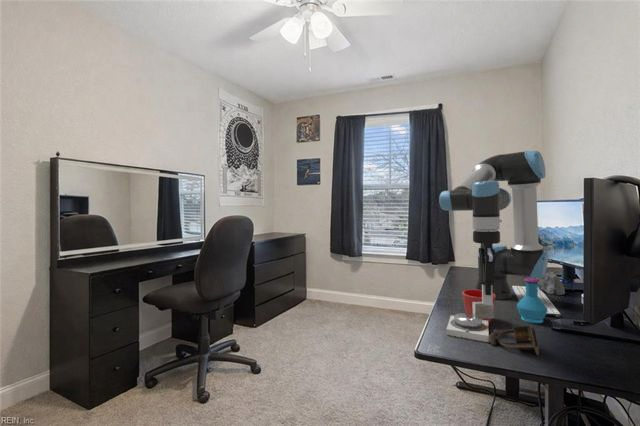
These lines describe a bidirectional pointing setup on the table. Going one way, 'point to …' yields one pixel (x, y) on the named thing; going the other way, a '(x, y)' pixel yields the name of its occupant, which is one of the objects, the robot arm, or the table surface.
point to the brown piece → (518, 338)
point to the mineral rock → (551, 284)
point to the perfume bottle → (532, 303)
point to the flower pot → (474, 300)
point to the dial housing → (468, 331)
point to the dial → (474, 316)
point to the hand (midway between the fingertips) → (487, 304)
